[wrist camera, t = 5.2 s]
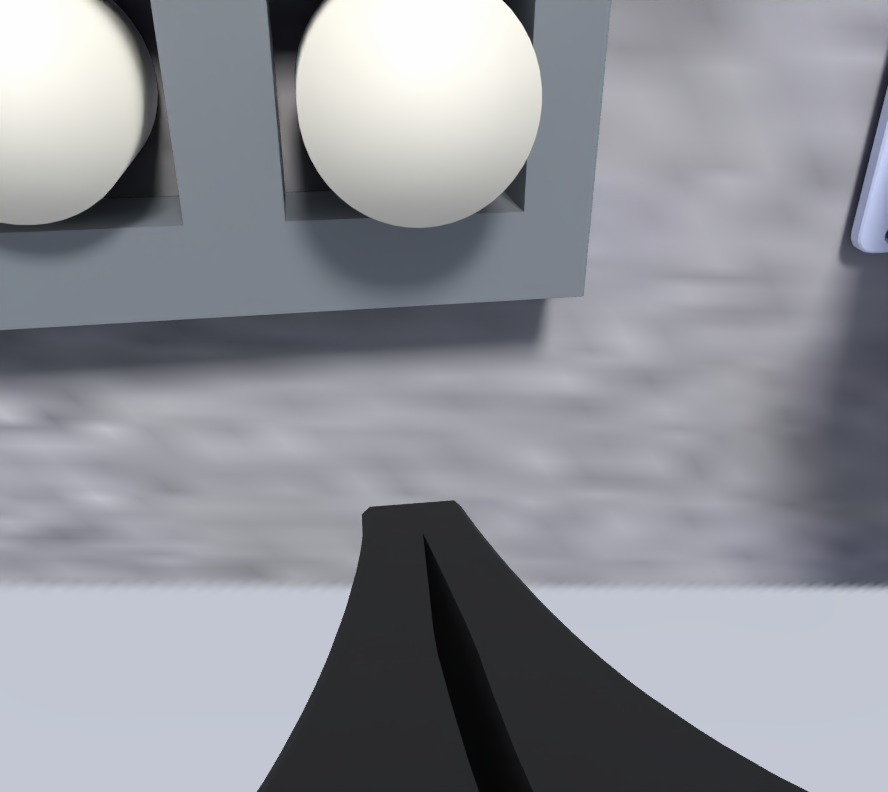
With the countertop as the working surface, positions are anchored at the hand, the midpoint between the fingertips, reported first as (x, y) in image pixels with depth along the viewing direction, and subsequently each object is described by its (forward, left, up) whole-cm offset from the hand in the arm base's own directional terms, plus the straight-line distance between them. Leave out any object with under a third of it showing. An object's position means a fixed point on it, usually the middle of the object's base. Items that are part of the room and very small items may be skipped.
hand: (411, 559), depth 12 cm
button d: (+6, -5, -9) cm, 12 cm away
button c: (-1, -6, -8) cm, 10 cm away
